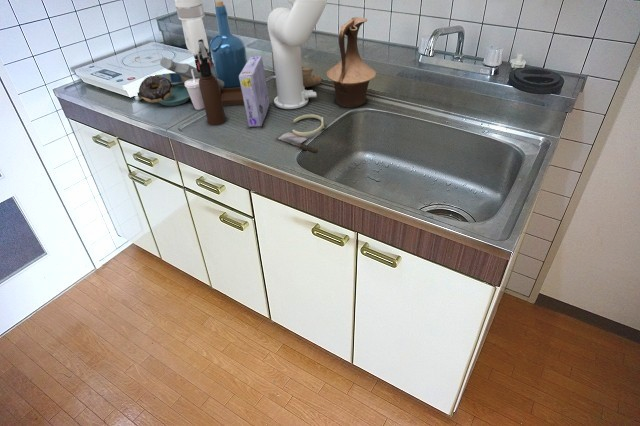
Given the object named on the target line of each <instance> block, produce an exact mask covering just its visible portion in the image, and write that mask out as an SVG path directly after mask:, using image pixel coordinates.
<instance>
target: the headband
mask: <svg viewBox="0 0 640 426" xmlns="http://www.w3.org/2000/svg"><path fill="white" fill-rule="evenodd" d="M308 118H311V119H312V118H313V119H317V120H319V121H320V122H321V125H320V126H319V127H317V128H316V129H314V130H311V131H297V130H296V129H292V130H291V131H292V133H293V134H296V135H299V136H301V137H306V136H307V137H308V136H312V135H315V134H318V133H319V132H320V131H322V130H324V129H325V124H324V116H320V115H318V114H313V113H311V114H308V113H307V114H302V115H299V116H298V117H295V118H294V119H293V123H297V122H298V121H300V120H303V119H308Z"/></svg>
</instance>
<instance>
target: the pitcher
mask: <svg viewBox="0 0 640 426" xmlns="http://www.w3.org/2000/svg"><path fill="white" fill-rule="evenodd" d="M367 21H368V19H367V18H366V17H359V16H355V17H352V18H351V19H349V20H348V21H346V23H344V24H343V25H341V26H340V30H339V34H338V46H339V52H340V58H341V60H340V61H338V63H337V64H335V65H334V66H332V67H331V68H329V69H328V70H327V71H326V77H327V78H328V79H329V80H331V81H332V82H333V88H334V94H335V104H337V105H339V106H341V107H345V108H358V107H361V106H364V105H365V103H366V102H367V100H366V99H367V94H368V88H369V84H370V81H371V80H372V79H374V78H375V77H376V76H377V72H376V70H375V69H373V68H372V67H370V66H369V64H367V63H365V61H364V60H363V59H362V57H361V55H360V52H359V47H358V35H359V30H360V28H361V26H362V25H363V24H365V23H366V22H367ZM345 36H346V37H347V40H346V41H347V42H346V45H345V38H346V37H345Z"/></svg>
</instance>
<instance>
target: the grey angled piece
mask: <svg viewBox="0 0 640 426" xmlns="http://www.w3.org/2000/svg"><path fill="white" fill-rule="evenodd" d="M159 63H160V66H161V67H163V68H164V69H166V70H168V71H171V72H172V73H177V74H179V75H182V76H184V77H186V78H188V79H193V76H192V71H191V69H193V73H194V77H195V78H198V79H199V78H200V75H201V73H198V72H197V68H196V66H193V65H191V64H189V63H182V62H176V61H173V60H172V59H171V58H167V57H165V56H163V57H162V58H160V62H159ZM216 79H217V81H218V85H219V90H220V89H222V88H225V87H224V82H223V81H222V80H220V79H218V78H216Z"/></svg>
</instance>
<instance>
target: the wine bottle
mask: <svg viewBox="0 0 640 426" xmlns="http://www.w3.org/2000/svg"><path fill="white" fill-rule="evenodd" d="M214 11H215V17H216V23H217V30H218V34H217V35H215V36H214V37H212V38H211V40H210V42H209V44H208V45H209V52H210V56H211V61H212V65H213V70H214V74H215V75H214V76H215V77H216V78H218V79H220V80H222V81H223V82H224V87H223V88H238V87H241V85H240V80H239V75H240V73H241V72H242V70H243V68H244V66H245V65H246V63H247V61H248V59H247V51H246V45H245V42H244V41H243V39H242V38H240V37H239V36H237V35H235V34H233V33H232V31H231V27H230V22H229V16H228V15H229V14H228V10H227V7H226V5H225V4H224V2H223V0H217V1H215V6H214Z"/></svg>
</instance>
